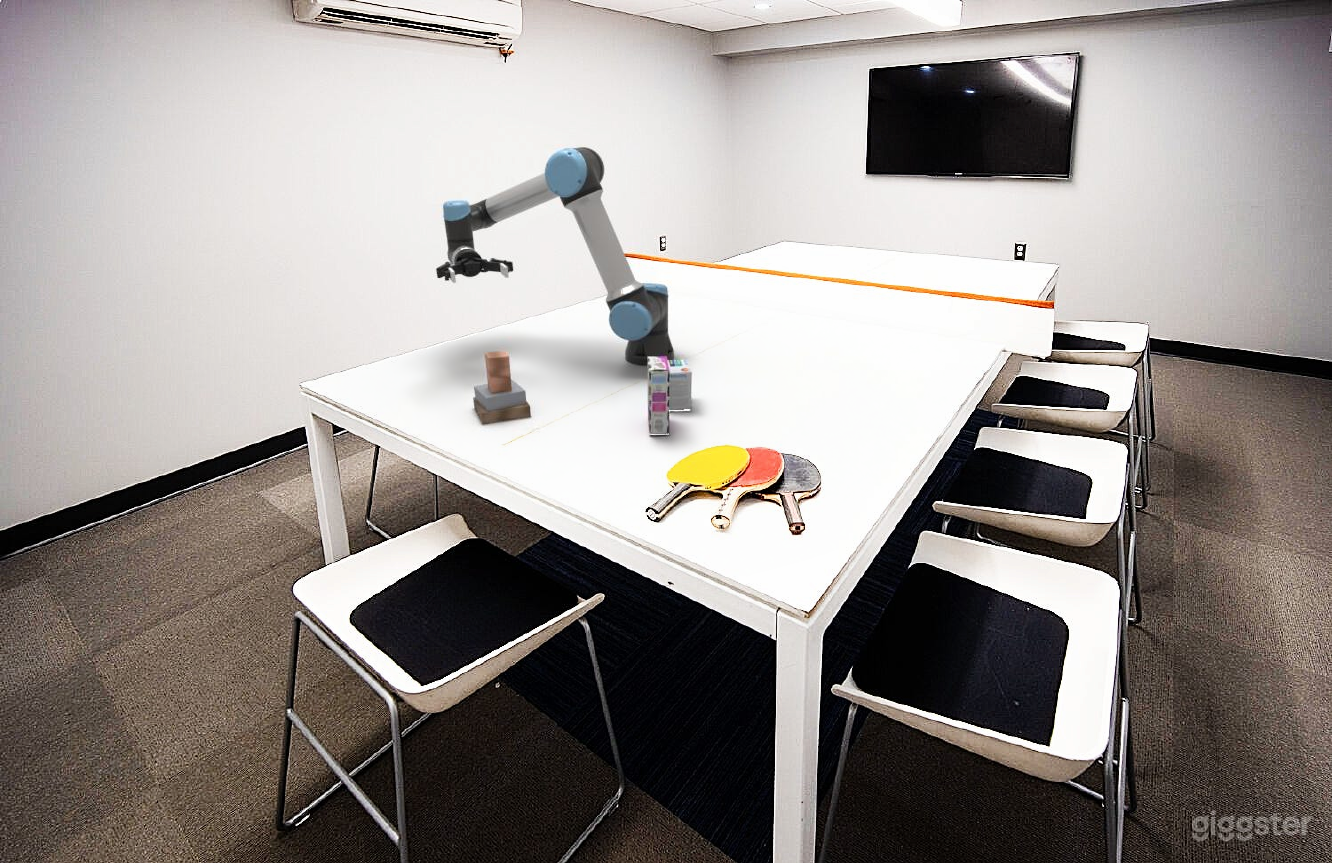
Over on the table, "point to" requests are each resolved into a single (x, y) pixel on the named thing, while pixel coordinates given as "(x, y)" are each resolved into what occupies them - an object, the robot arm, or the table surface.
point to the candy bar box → (658, 394)
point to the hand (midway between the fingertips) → (480, 274)
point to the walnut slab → (502, 413)
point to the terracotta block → (498, 371)
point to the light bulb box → (680, 384)
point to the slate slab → (500, 397)
